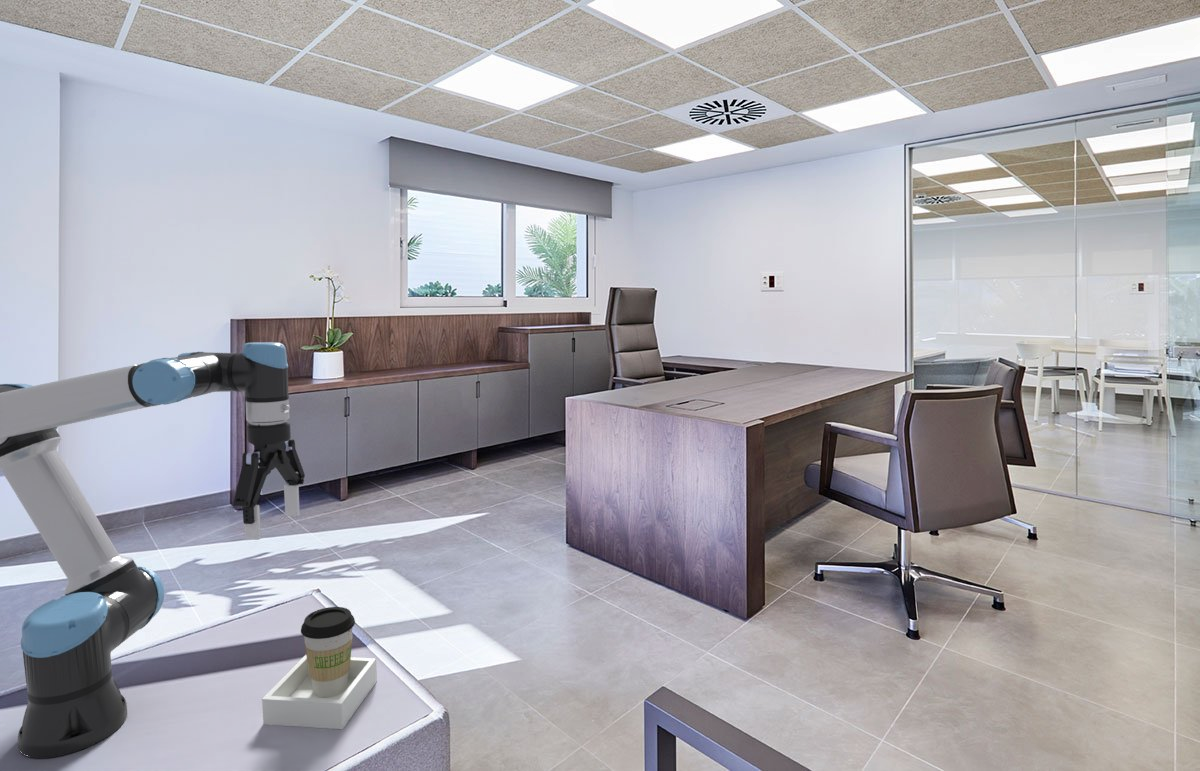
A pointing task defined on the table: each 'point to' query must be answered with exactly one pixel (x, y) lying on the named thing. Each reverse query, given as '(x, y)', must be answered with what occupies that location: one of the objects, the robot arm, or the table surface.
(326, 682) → the coffee cup
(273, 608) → the table surface
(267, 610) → the table surface
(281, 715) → the bin
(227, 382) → the robot arm
